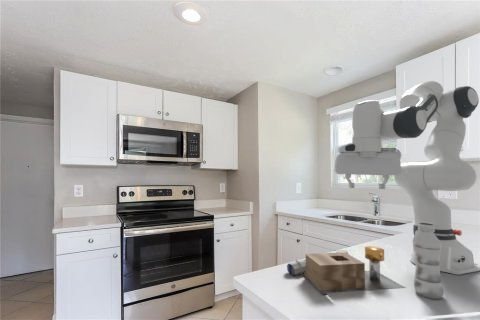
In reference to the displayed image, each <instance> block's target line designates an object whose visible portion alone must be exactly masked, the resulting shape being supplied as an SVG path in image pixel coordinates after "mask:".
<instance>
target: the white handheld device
mask: <svg viewBox="0 0 480 320" xmlns="http://www.w3.org/2000/svg"><path fill="white" fill-rule="evenodd" d="M335 253H347V254H349V252H348V251H347V250H346V249H338V250H336V252H335ZM286 271H287V272H288V274H289V275H290V276H292V277H293V276H297V275H303V274H305V273H306V258H305V259H300V260H298V259H295V261H293V262H290V263H289V262H288V263H287V265H286Z"/></svg>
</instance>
